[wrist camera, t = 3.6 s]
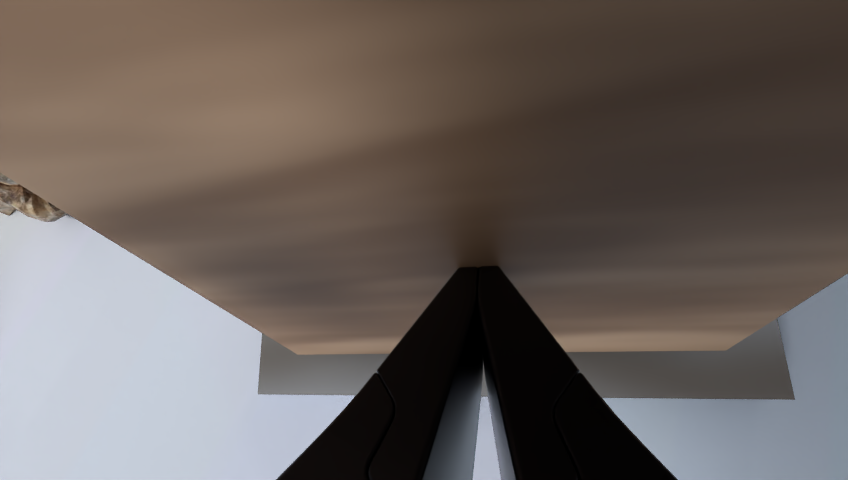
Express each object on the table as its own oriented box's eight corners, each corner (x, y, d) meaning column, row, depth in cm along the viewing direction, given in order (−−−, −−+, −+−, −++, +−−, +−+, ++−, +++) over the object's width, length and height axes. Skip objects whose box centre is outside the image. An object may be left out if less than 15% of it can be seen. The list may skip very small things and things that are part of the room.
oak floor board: (769, 393, 13) (794, 399, 12) (274, 389, 16) (257, 394, 15) (655, -164, 19) (665, -195, 18) (305, -85, 22) (294, -108, 21)
